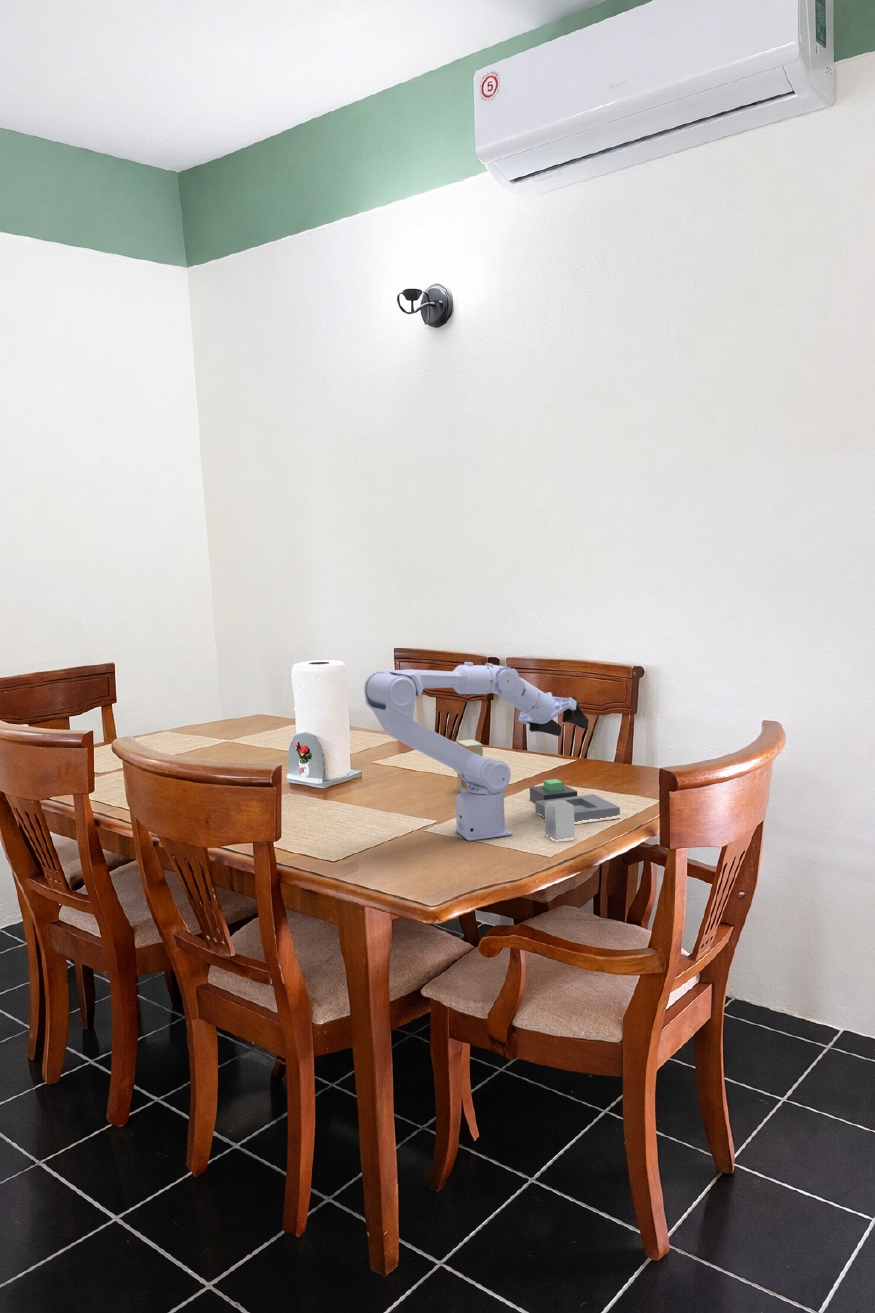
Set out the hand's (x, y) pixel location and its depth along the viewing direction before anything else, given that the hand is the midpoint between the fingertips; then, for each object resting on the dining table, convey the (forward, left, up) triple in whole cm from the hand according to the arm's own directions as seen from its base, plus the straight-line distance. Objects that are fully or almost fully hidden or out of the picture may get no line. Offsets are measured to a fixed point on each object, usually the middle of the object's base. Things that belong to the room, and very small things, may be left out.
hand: (573, 728), depth 212 cm
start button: (0, +10, -16) cm, 19 cm away
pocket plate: (0, -2, -19) cm, 19 cm away
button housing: (0, +10, -19) cm, 21 cm away
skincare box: (-14, +26, -19) cm, 35 cm away
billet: (-10, -15, -19) cm, 26 cm away
